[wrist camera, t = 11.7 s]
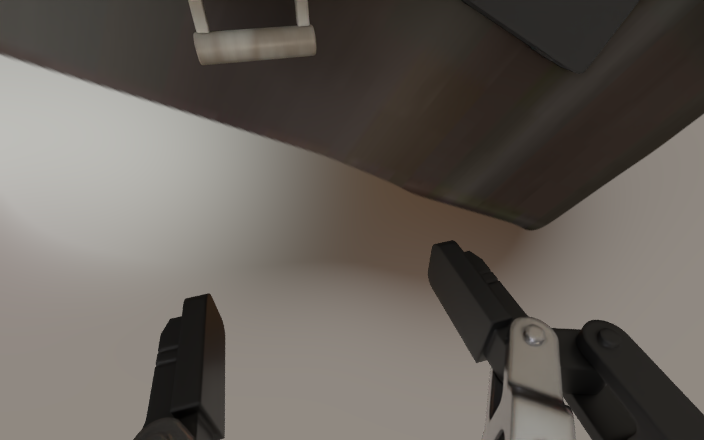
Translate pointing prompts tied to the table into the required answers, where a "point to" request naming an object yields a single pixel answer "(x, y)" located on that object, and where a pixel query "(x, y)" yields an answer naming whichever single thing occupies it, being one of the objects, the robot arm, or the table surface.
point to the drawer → (252, 39)
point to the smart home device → (559, 26)
